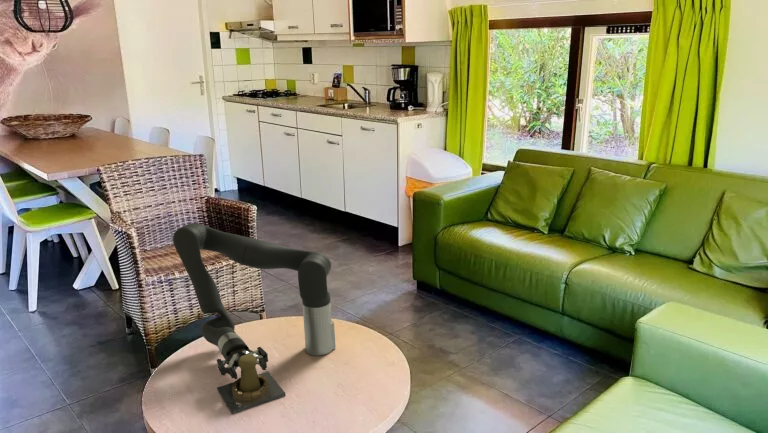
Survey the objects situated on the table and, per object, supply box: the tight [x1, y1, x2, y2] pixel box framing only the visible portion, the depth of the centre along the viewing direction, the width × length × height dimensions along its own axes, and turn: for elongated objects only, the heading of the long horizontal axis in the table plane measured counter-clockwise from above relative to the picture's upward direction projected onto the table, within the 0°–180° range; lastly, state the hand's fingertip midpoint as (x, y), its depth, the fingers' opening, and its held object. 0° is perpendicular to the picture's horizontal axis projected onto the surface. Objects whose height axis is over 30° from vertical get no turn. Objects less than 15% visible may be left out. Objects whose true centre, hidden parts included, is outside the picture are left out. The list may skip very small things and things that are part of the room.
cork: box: [238, 354, 261, 392], centre depth 169 cm, size 6×6×11 cm
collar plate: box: [216, 371, 286, 415], centre depth 170 cm, size 16×14×3 cm
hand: (250, 371), depth 167 cm, fingers open, 8 cm apart
